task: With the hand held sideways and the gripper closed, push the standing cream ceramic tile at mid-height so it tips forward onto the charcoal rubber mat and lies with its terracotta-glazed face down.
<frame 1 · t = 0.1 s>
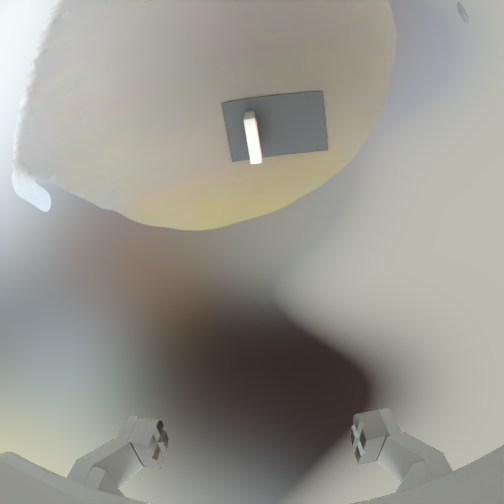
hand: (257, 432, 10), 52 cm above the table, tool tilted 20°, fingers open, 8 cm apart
tile: (253, 128, 52), resting on mat
mat: (276, 125, 52), on the table
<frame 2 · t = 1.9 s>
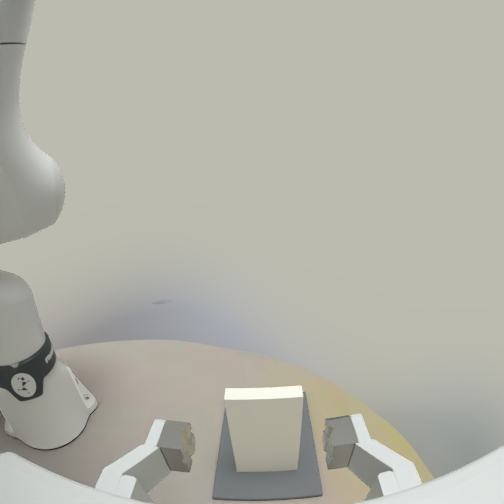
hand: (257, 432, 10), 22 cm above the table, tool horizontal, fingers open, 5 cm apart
tile: (267, 465, 27), resting on mat
mat: (266, 441, 32), on the table
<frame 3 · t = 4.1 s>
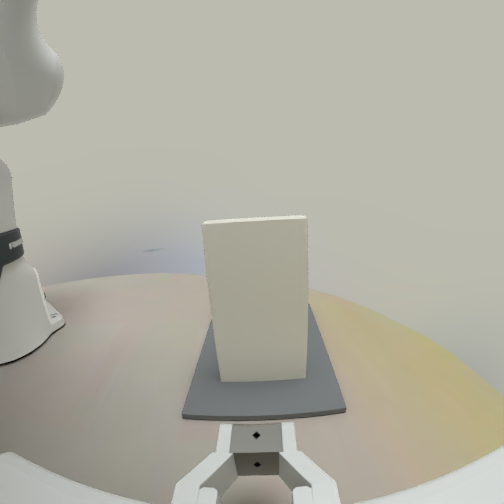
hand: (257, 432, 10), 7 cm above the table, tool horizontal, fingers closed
tile: (263, 374, 23), resting on mat
mat: (263, 350, 28), on the table
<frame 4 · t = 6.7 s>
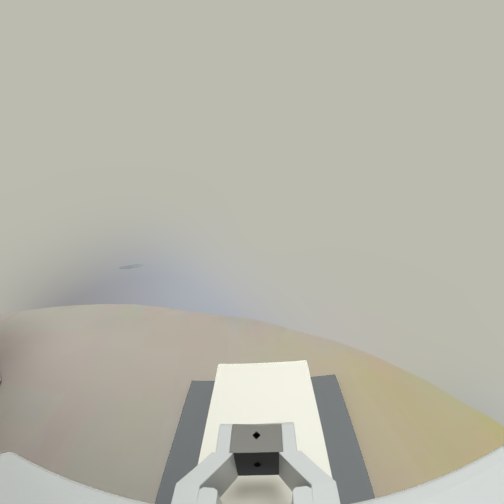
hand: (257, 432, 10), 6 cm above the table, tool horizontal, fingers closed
mat: (264, 477, 13), on the table
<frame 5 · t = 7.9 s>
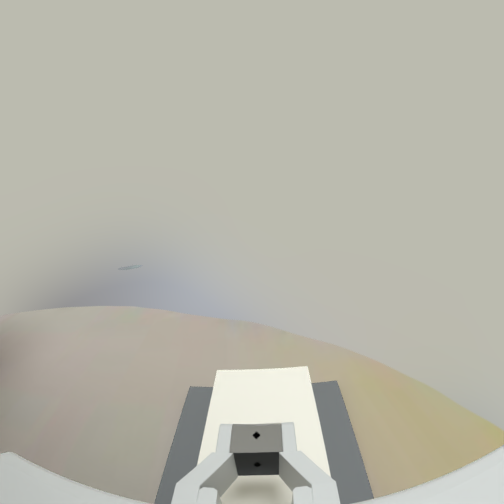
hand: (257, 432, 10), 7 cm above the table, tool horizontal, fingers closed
mat: (263, 488, 13), on the table
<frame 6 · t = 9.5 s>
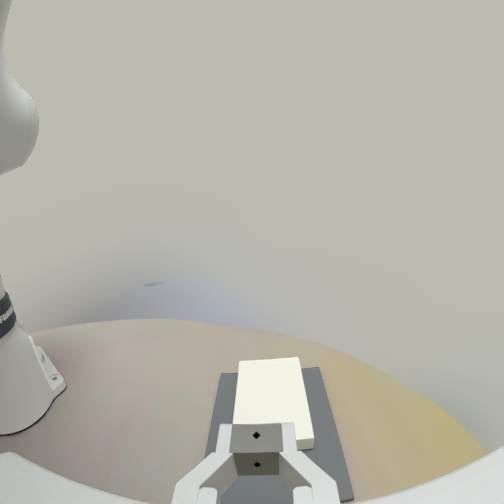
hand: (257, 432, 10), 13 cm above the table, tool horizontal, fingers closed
tile: (272, 447, 21), point 1 cm above the table, tilted 90°, touching mat
mat: (272, 430, 24), on the table
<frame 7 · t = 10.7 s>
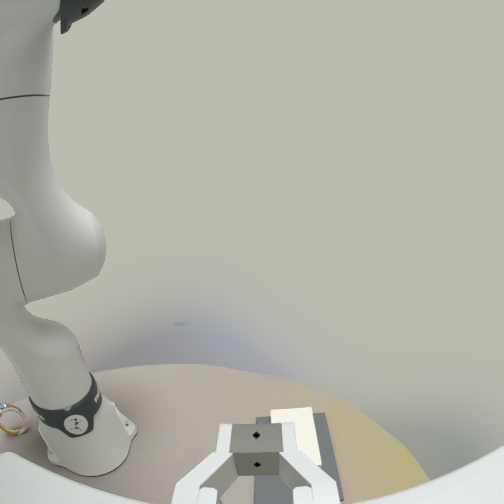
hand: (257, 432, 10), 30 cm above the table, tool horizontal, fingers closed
tile: (297, 470, 32), point 1 cm above the table, tilted 90°, touching mat
ring: (20, 434, 33), on the table
mat: (294, 457, 36), on the table
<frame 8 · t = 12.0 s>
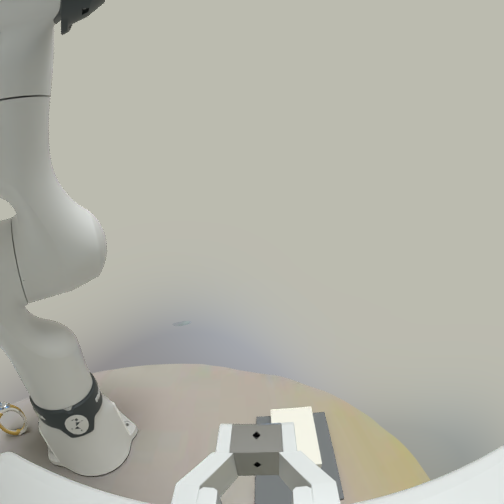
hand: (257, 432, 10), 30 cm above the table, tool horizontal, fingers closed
tile: (297, 469, 32), point 1 cm above the table, tilted 90°, touching mat
ring: (20, 434, 33), on the table
mat: (295, 457, 36), on the table
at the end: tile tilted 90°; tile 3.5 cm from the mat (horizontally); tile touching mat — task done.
